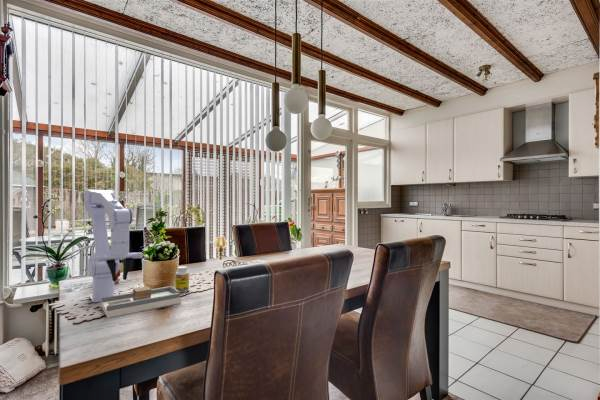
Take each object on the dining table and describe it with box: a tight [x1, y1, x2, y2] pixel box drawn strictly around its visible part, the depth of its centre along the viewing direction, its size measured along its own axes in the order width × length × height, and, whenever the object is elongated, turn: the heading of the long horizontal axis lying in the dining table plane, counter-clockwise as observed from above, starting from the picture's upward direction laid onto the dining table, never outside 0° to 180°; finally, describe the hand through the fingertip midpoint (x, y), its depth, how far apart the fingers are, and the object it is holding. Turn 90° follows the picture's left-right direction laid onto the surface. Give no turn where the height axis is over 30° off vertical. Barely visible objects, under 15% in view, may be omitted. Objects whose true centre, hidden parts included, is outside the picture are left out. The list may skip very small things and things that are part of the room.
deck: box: [100, 285, 182, 319], centre depth 114 cm, size 14×24×4 cm, turn 130°
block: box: [132, 285, 152, 301], centre depth 114 cm, size 5×5×4 cm
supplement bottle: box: [174, 265, 190, 293], centre depth 133 cm, size 6×6×10 cm
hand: (119, 280), depth 109 cm, fingers open, 3 cm apart
